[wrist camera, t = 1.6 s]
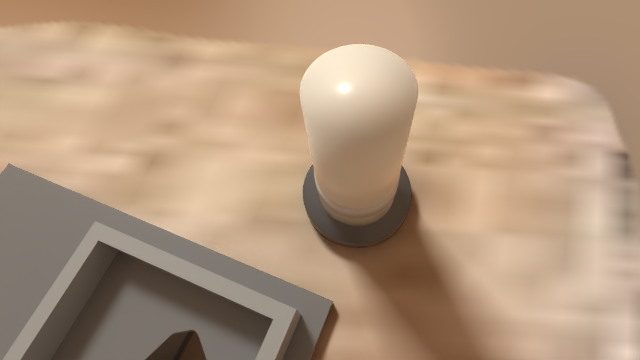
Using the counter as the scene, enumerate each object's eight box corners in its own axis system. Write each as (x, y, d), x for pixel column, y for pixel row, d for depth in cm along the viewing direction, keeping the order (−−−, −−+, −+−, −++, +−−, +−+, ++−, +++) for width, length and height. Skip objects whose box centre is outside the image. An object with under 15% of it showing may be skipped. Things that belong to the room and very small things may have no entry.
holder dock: (333, 302, 21) (330, 294, 19) (198, 643, 16) (172, 690, 14) (16, 168, 26) (-18, 148, 24) (-164, 394, 21) (-229, 397, 19)
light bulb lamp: (422, 170, 24) (464, 49, 15) (388, 264, 22) (414, 188, 13) (328, 139, 25) (314, 11, 16) (288, 224, 23) (246, 131, 14)
